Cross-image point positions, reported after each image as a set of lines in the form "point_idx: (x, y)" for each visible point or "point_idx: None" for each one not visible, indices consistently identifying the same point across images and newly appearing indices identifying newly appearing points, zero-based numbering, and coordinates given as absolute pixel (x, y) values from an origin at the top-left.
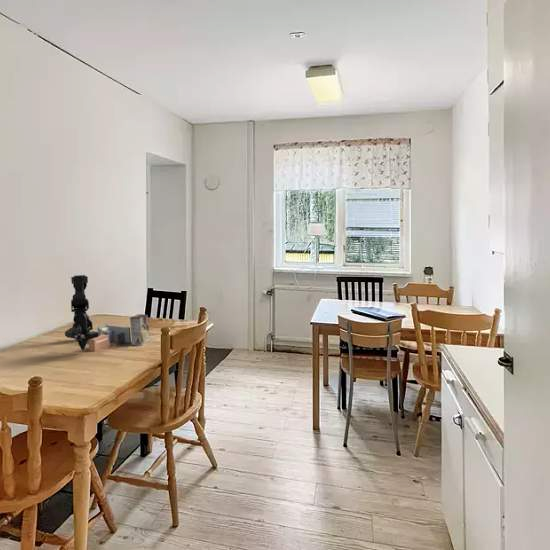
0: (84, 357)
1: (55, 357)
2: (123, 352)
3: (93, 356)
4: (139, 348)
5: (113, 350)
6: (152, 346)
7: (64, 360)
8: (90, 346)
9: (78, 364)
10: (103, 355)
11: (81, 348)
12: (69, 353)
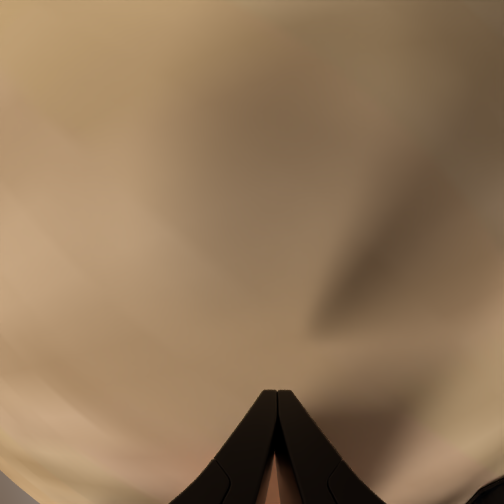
0: (113, 247)
1: (497, 107)
2: (17, 432)
3: (64, 316)
4: (38, 482)
5: (103, 471)
6: (35, 496)
7: (272, 26)
8: None
9: (6, 54)
10: (31, 363)
11: (279, 401)
12: (467, 299)
